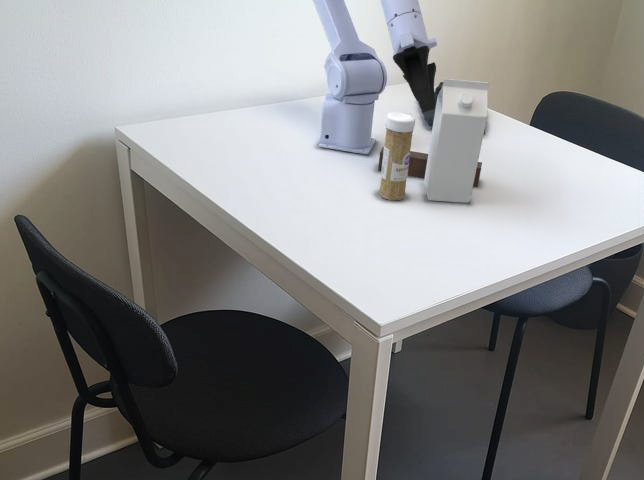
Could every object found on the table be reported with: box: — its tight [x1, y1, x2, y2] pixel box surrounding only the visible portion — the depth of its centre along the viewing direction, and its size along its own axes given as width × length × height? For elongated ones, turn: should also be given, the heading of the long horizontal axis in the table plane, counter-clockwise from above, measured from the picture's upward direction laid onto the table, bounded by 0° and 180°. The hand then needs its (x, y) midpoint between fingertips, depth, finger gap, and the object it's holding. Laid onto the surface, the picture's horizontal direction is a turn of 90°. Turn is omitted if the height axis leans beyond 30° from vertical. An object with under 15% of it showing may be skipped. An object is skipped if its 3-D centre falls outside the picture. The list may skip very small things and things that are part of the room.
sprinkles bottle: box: [378, 111, 416, 201], centre depth 116 cm, size 5×5×14 cm
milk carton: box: [423, 78, 490, 204], centre depth 117 cm, size 7×7×19 cm
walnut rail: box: [377, 146, 483, 188], centre depth 128 cm, size 18×3×4 cm, turn 80°
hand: (426, 104), depth 115 cm, fingers open, 7 cm apart
